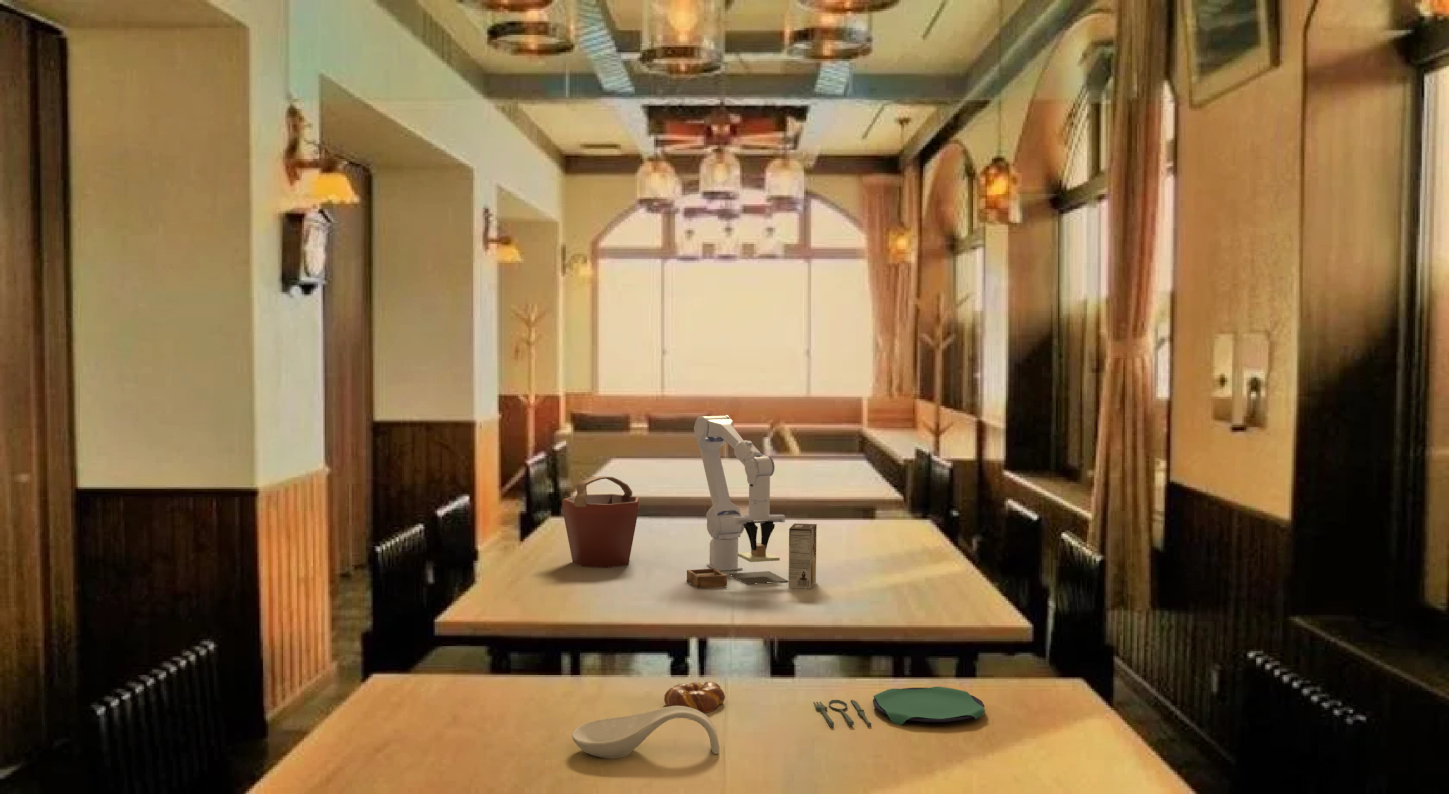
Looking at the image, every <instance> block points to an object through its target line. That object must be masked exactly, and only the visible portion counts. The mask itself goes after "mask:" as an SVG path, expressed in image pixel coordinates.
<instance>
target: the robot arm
mask: <svg viewBox="0 0 1449 794" xmlns="http://www.w3.org/2000/svg"><path fill="white" fill-rule="evenodd" d="M693 431H694V432H693V433H694V435H695V440H696V444H697V447H699V450H700V451H699V452H700V455H701V460H702V464H703V469H704V473H705V476H706V477H705V478H706V482H707V487H708V490H709V494H710V499H711V504H712V506H711V507H709V509H708V511H707V512H706V513H705V514H706V529H707V532H708V534H709V536H710V537H711V539H710V542H709V562H708V563H706V566H708V567H709V568H710V569H714V568H715V569H717V570H718V571H720V572H722V571H734V570H743V569H744V568H743V567H742V566H740V565H739V556H738V553H739V538H741V535H742V534H743V532H744V531H745V532H746V534H747V537H748V539H749V544H750V550H751V549H752V550H756V543H757V535H758V529H759V528H758V526H757V524H760V526H759V527H760V534H761V537H760V538H761V541H760V542H761V544H763V545H766V549H767V548H768V544H769V540H770V538H771V536H772V534H773V531H774V529H775V525H776V524H775V523H785V522H786V515H784V514H770V511H771V509H770V505H771V504H770V503H771V501H770V500H771V499H770V498H771V476H773V475H774V473H775V469H776V468H775V462H774V459H773V458H772V456H771V455H767V454H766V455H765V454H762V452H761V451H760V450H759V449H758V448H757V447H756V446H755V445H754V444H753V442H752V441H751V440H744V439H743V438H742V436H741V435H740V434H739V433H738V431H737V430H736V429H735V427H734V420H733V419H732V418H731V417H730V416H729V415H727V414H724V415H707V416H704V415H700V416H698V417H697V418H696V420H695V422H694V427H693ZM726 443H727V444H728V445H729V446H730V447H731V448H732V449H733V454H734V456H735V457H736V458H737V460H739V462H740V463H741V464H742V465H743V466H744V472H745V475H746V482H747V484H748V514H747V515H742V513H741V510H740V507H739V506H737V504H735V503H733V502H732V501H731V498H730V493H729V489H728V485H727V480H726V477H725V471H724V467H723V463H722V458H721V453H720V449H721V448H722V447H723V446H724V445H725V444H726Z"/></svg>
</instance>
